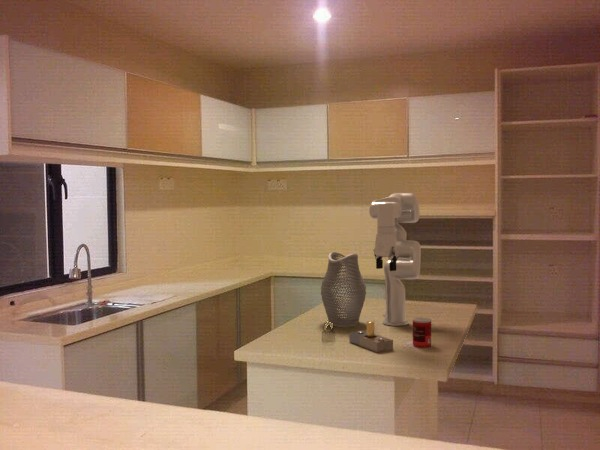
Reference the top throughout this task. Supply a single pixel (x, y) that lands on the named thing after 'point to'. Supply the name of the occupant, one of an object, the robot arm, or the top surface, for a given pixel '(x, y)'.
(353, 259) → the vase
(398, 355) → the top surface
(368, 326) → the pin
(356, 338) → the bolted slotted plate
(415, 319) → the canned food
